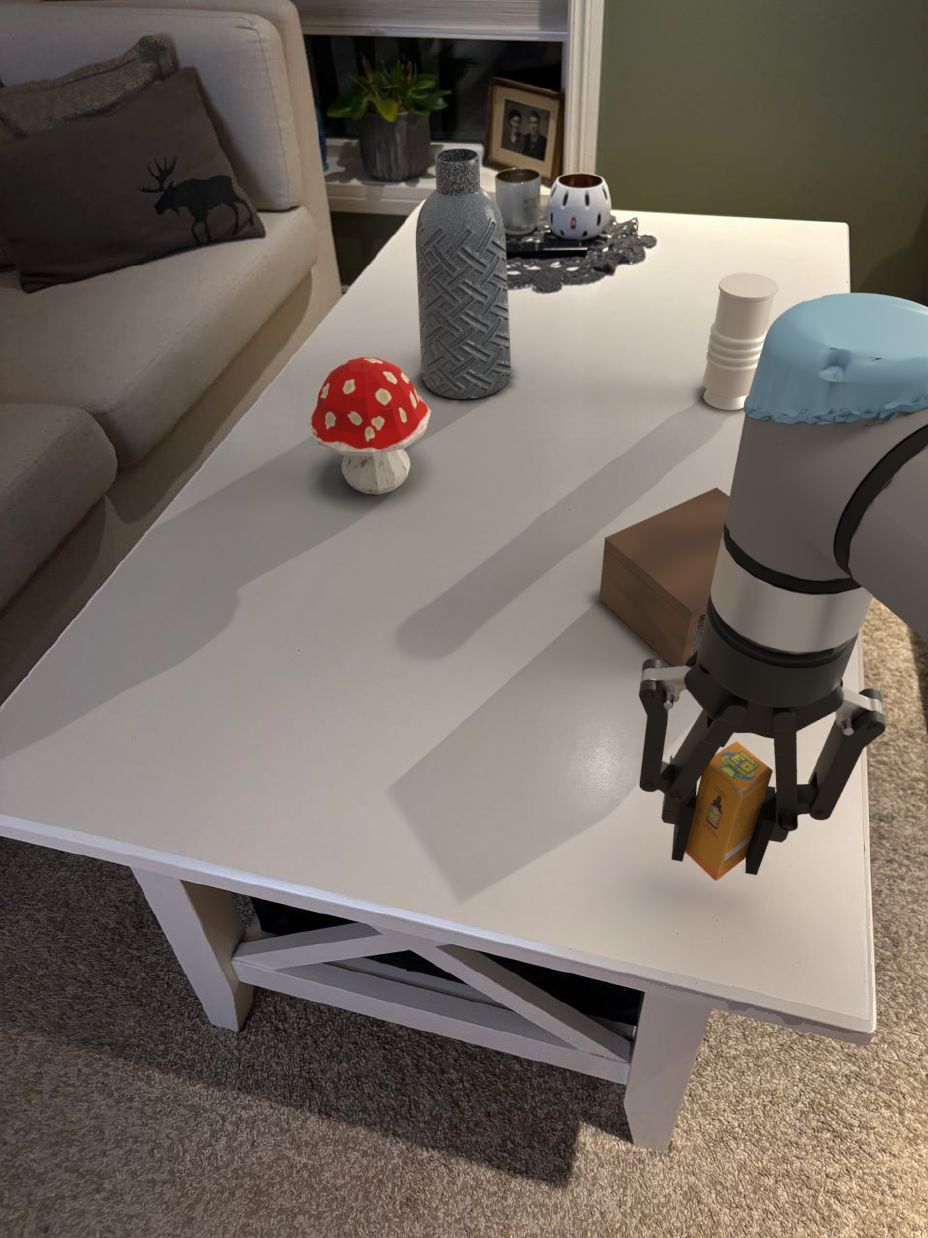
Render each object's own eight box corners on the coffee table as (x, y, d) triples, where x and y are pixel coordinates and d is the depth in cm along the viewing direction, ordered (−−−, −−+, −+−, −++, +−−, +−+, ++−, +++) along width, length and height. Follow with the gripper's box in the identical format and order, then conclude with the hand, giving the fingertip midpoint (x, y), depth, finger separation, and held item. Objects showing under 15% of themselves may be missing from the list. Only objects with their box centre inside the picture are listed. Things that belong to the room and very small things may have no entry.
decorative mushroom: (441, 508, 99) (433, 390, 89) (319, 521, 99) (296, 404, 88) (430, 440, 109) (421, 327, 99) (319, 452, 108) (298, 339, 98)
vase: (414, 399, 116) (393, 172, 97) (431, 354, 125) (415, 138, 105) (505, 403, 115) (502, 174, 95) (515, 357, 123) (515, 138, 103)
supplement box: (750, 857, 61) (778, 771, 54) (714, 884, 59) (739, 799, 52) (714, 824, 63) (737, 737, 56) (679, 849, 61) (698, 763, 55)
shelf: (789, 614, 85) (808, 551, 80) (679, 673, 80) (691, 611, 75) (704, 548, 93) (716, 487, 87) (598, 599, 88) (604, 537, 82)
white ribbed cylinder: (750, 384, 116) (773, 272, 105) (757, 412, 111) (783, 297, 100) (697, 383, 116) (715, 272, 106) (702, 411, 111) (721, 297, 101)
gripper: (955, 579, 46) (842, 827, 62) (622, 542, 49) (597, 785, 65) (980, 685, 40) (849, 925, 57) (605, 635, 44) (583, 874, 60)
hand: (714, 850), depth 61 cm, fingers closed on supplement box, 4 cm apart
